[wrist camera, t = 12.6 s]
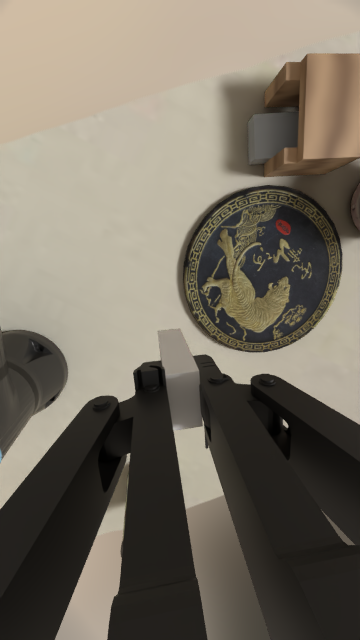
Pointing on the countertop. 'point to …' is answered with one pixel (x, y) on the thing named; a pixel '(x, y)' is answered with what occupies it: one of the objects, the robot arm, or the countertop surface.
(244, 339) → the decorative plate
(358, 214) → the flowerpot
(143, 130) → the countertop surface
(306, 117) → the wooden u-bracket
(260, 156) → the grey rectangular block
